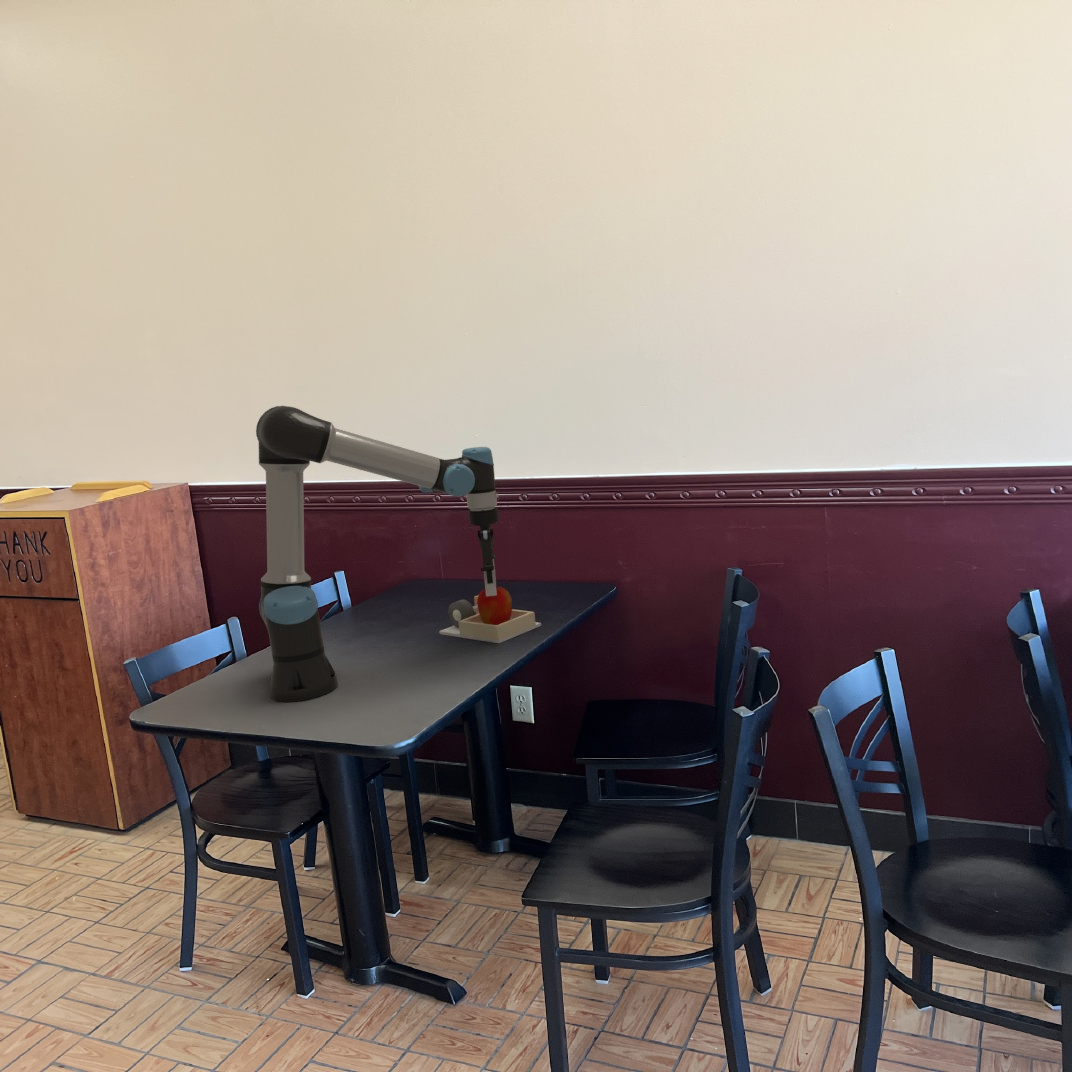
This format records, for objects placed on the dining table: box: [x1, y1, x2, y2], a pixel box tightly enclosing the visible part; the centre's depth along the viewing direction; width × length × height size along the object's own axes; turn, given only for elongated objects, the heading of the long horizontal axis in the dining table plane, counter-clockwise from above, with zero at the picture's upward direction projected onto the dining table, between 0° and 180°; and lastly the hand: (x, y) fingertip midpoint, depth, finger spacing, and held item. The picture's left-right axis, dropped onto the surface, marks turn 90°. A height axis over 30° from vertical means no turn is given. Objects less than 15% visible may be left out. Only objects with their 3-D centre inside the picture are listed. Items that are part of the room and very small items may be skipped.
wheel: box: [447, 598, 478, 628], centre depth 260 cm, size 8×7×7 cm
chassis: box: [438, 594, 542, 644], centre depth 256 cm, size 16×22×7 cm
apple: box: [477, 586, 513, 625], centre depth 252 cm, size 9×9×12 cm
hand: (491, 589), depth 251 cm, fingers open, 13 cm apart
